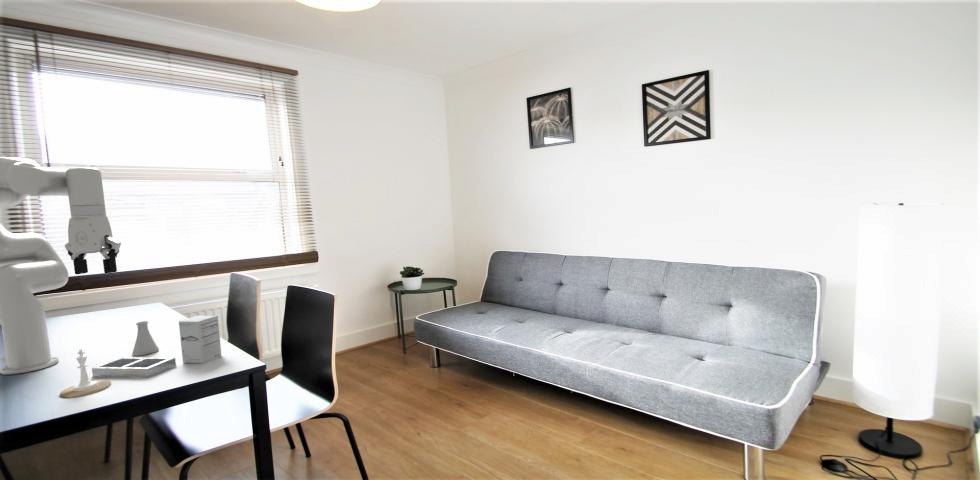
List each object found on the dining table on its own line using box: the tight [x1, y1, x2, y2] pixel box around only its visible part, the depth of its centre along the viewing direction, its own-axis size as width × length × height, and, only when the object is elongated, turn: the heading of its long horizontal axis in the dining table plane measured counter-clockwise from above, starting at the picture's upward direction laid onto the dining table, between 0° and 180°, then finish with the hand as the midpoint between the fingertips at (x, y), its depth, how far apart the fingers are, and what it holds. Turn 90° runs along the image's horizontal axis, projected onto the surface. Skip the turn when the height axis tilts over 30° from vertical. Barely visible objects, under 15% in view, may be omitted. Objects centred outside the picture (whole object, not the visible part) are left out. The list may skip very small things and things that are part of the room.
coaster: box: [59, 379, 112, 399], centre depth 121 cm, size 10×10×1 cm
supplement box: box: [178, 315, 222, 364], centre depth 141 cm, size 7×7×13 cm
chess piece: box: [73, 348, 98, 391], centre depth 121 cm, size 5×5×10 cm
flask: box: [131, 320, 160, 357], centre depth 151 cm, size 7×7×10 cm
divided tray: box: [91, 356, 177, 378], centre depth 134 cm, size 18×9×2 cm, turn 80°
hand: (96, 273), depth 133 cm, fingers open, 9 cm apart
